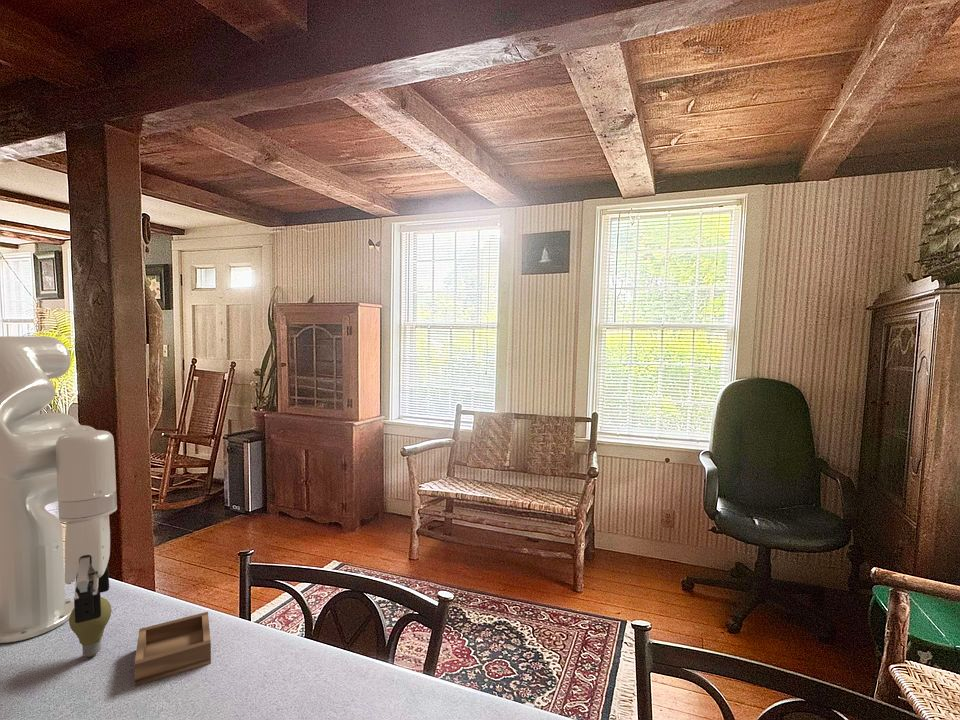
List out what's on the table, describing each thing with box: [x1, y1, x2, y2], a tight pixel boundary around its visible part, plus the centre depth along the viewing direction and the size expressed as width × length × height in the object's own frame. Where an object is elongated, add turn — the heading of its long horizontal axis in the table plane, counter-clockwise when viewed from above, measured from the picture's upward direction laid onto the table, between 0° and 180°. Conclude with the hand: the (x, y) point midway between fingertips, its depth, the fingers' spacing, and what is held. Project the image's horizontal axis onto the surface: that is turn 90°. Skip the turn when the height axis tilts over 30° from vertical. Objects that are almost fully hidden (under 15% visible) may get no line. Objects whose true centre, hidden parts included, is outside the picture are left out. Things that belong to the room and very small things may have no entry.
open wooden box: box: [133, 611, 212, 687], centre depth 82 cm, size 10×10×4 cm
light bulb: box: [68, 596, 112, 658], centre depth 81 cm, size 6×6×10 cm
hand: (93, 605), depth 81 cm, fingers open, 9 cm apart
